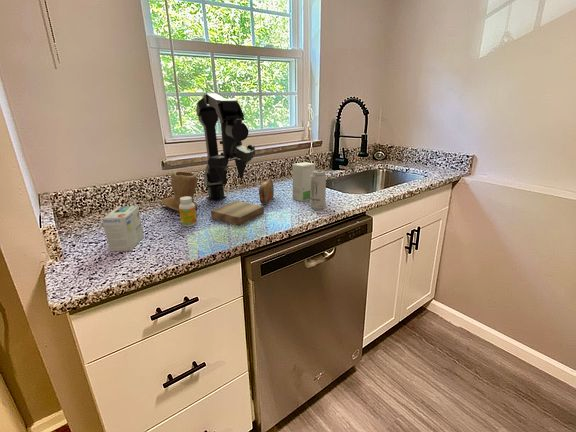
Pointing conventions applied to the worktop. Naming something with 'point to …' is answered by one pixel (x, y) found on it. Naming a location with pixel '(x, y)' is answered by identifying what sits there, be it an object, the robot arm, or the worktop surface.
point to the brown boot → (181, 188)
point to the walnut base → (237, 212)
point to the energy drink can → (317, 190)
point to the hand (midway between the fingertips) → (233, 181)
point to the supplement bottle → (187, 211)
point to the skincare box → (302, 180)
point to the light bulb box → (123, 228)
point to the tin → (266, 192)
